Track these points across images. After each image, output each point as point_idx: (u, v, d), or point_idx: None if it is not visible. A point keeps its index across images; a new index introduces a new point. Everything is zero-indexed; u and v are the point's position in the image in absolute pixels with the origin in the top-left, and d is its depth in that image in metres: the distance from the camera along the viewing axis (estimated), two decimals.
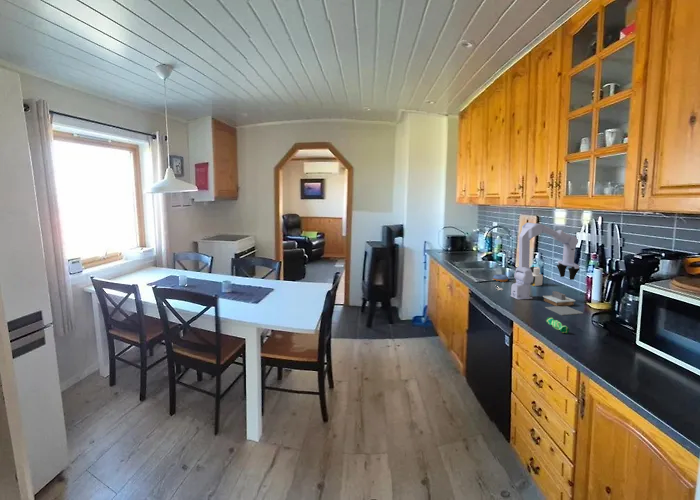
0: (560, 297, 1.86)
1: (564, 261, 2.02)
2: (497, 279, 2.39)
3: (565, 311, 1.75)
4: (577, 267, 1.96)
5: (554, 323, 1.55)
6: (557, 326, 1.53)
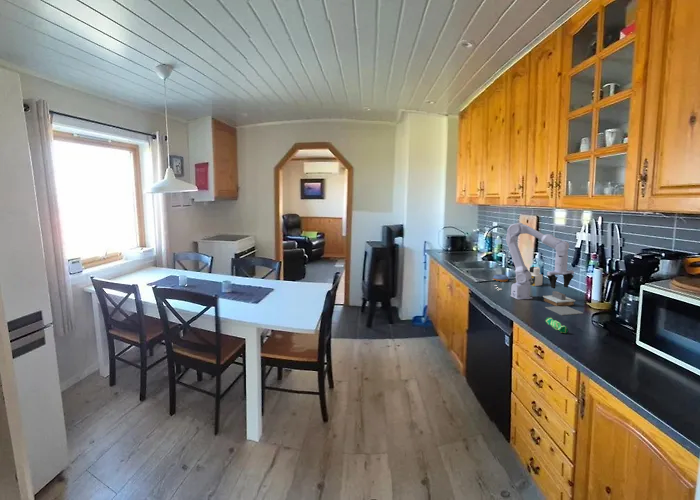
0: (560, 297, 1.86)
1: None
2: (497, 279, 2.39)
3: (565, 311, 1.75)
4: (548, 274, 1.86)
5: (553, 323, 1.55)
6: (556, 326, 1.53)
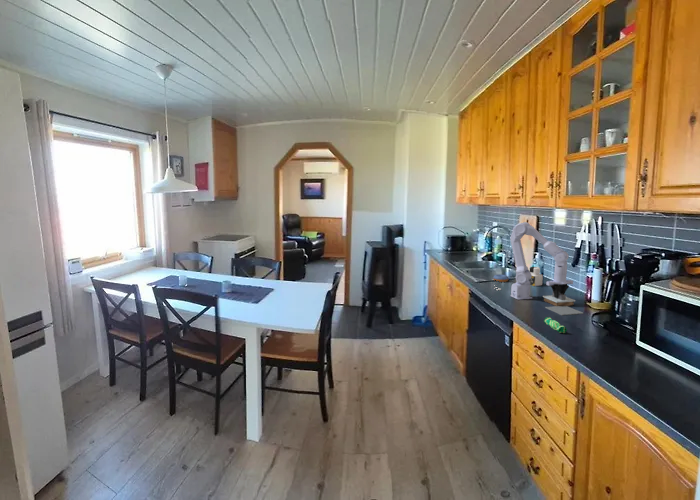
0: (560, 297, 1.86)
1: None
2: (497, 279, 2.39)
3: (565, 311, 1.75)
4: (547, 284, 1.87)
5: (552, 323, 1.55)
6: (555, 326, 1.53)
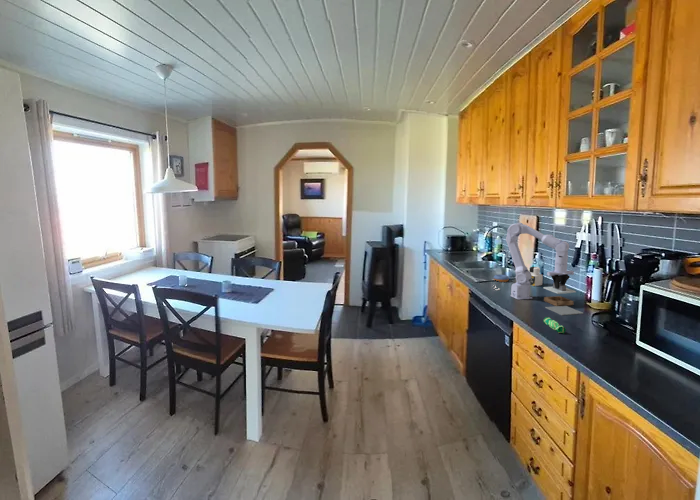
0: (561, 288, 1.86)
1: None
2: (498, 279, 2.39)
3: (565, 311, 1.75)
4: (548, 274, 1.86)
5: (551, 323, 1.55)
6: (554, 326, 1.53)
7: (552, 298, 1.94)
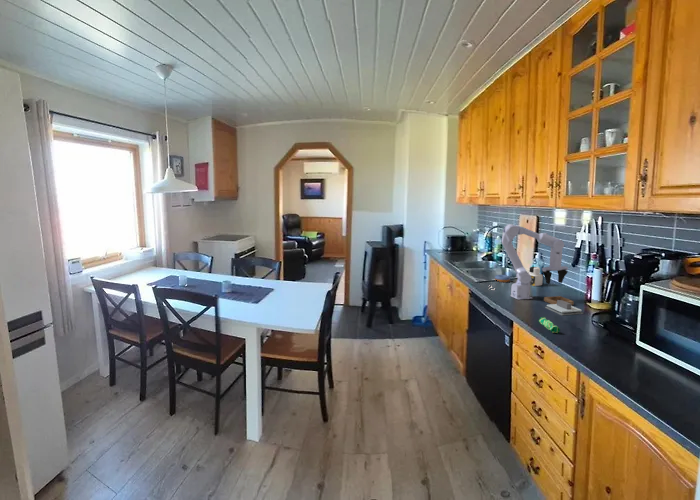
0: (565, 306, 1.75)
1: None
2: (499, 279, 2.38)
3: None
4: (543, 270, 1.95)
5: (546, 323, 1.55)
6: (548, 326, 1.53)
7: (552, 298, 1.94)
